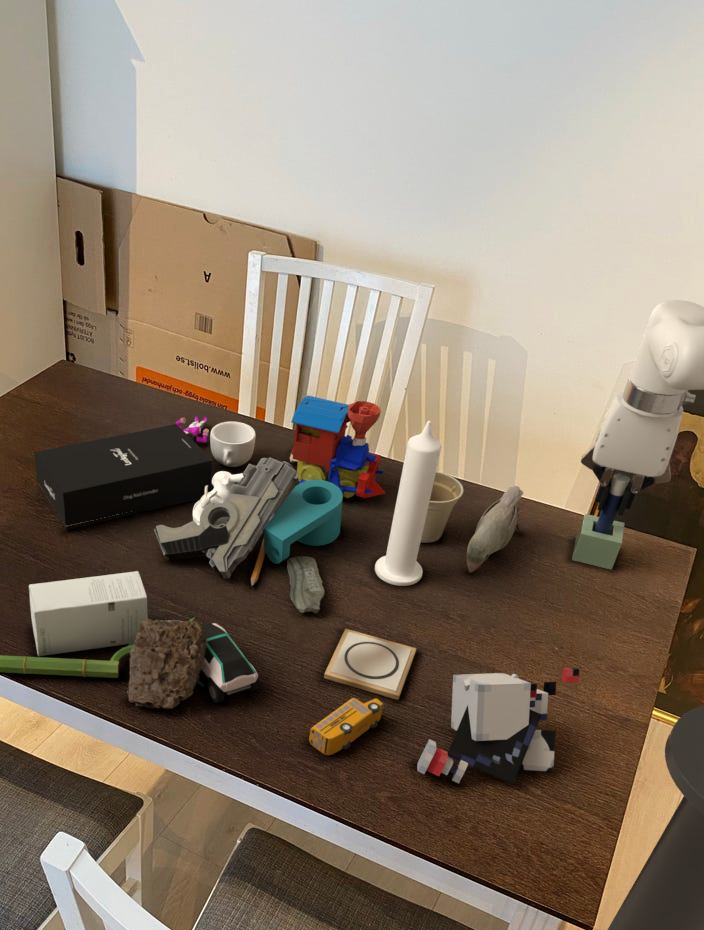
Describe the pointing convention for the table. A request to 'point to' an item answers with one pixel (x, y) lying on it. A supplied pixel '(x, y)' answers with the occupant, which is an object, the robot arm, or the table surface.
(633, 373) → the robot arm
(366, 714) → the toy bus
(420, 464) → the candle
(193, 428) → the character figurine
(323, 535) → the teal mechanical bracket
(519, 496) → the decorative bird
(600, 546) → the pen stand
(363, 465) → the toy train
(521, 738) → the toy
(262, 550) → the pencil
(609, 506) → the marker
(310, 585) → the stone
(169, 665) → the concrete sample
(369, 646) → the framed picture
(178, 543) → the toy gun
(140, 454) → the box
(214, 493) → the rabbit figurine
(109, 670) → the decorative plant
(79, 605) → the cosmetic box
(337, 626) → the table surface
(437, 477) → the flower pot
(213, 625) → the toy car
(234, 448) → the teacup
